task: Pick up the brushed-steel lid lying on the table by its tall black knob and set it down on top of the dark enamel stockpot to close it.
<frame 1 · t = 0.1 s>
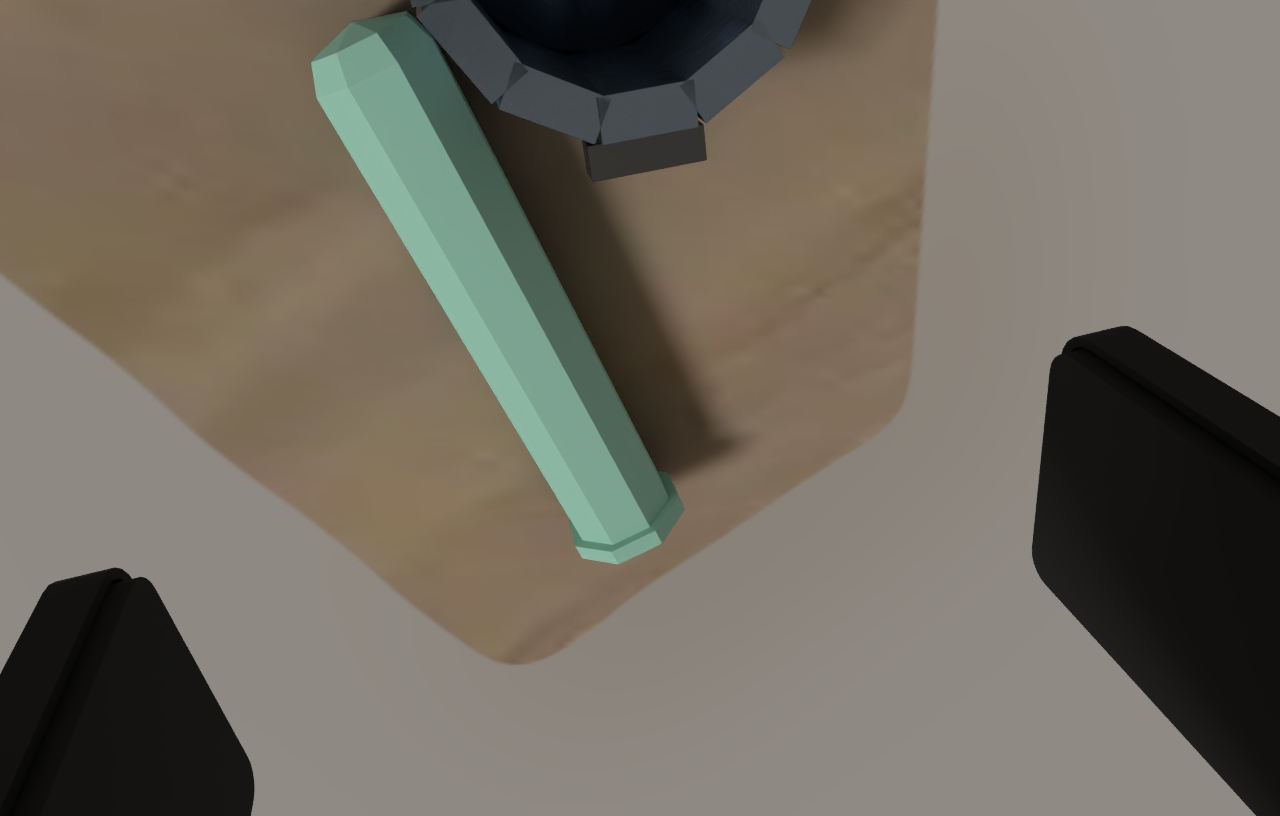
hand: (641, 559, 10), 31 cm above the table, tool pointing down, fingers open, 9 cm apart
mint green octagonal rod: (509, 287, 41), on the table
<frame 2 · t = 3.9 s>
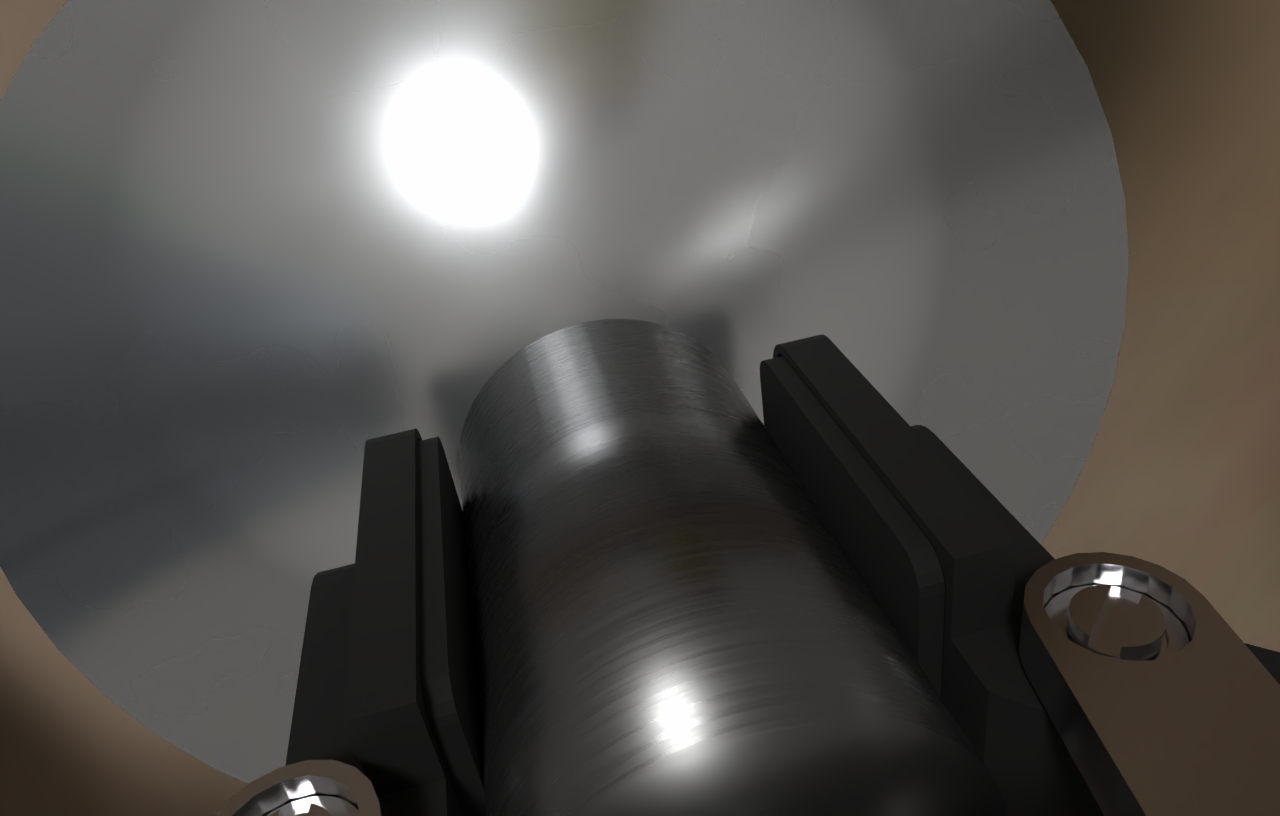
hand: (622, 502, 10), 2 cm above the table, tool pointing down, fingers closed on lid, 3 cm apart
lid: (593, 413, 12), on the table, touching gripper
when the fingers open (12 cm above the table, at t = 8.4 s): lid stays where it is, resting on pot.
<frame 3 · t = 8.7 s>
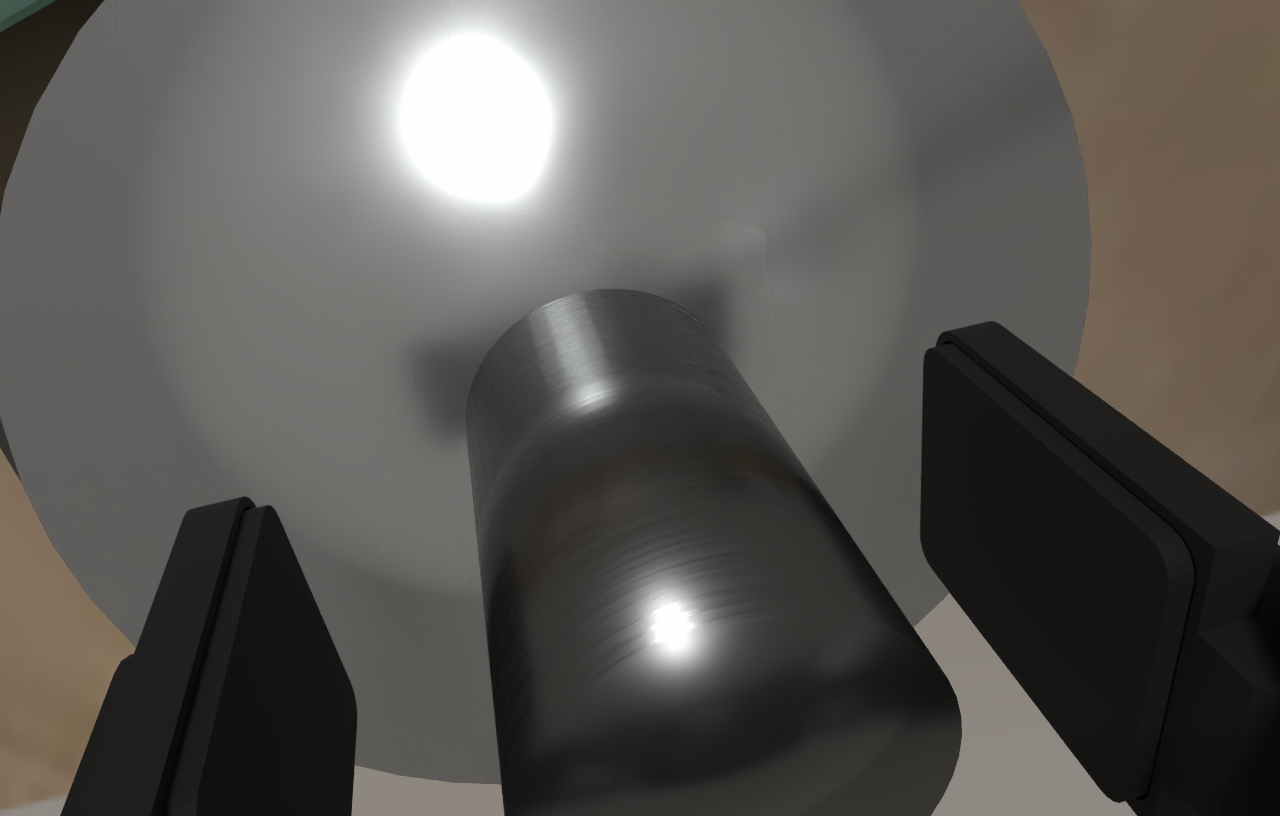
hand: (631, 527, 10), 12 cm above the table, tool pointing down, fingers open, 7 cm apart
lid: (591, 381, 13), point 9 cm above the table, touching pot
pot: (518, 200, 21), on the table
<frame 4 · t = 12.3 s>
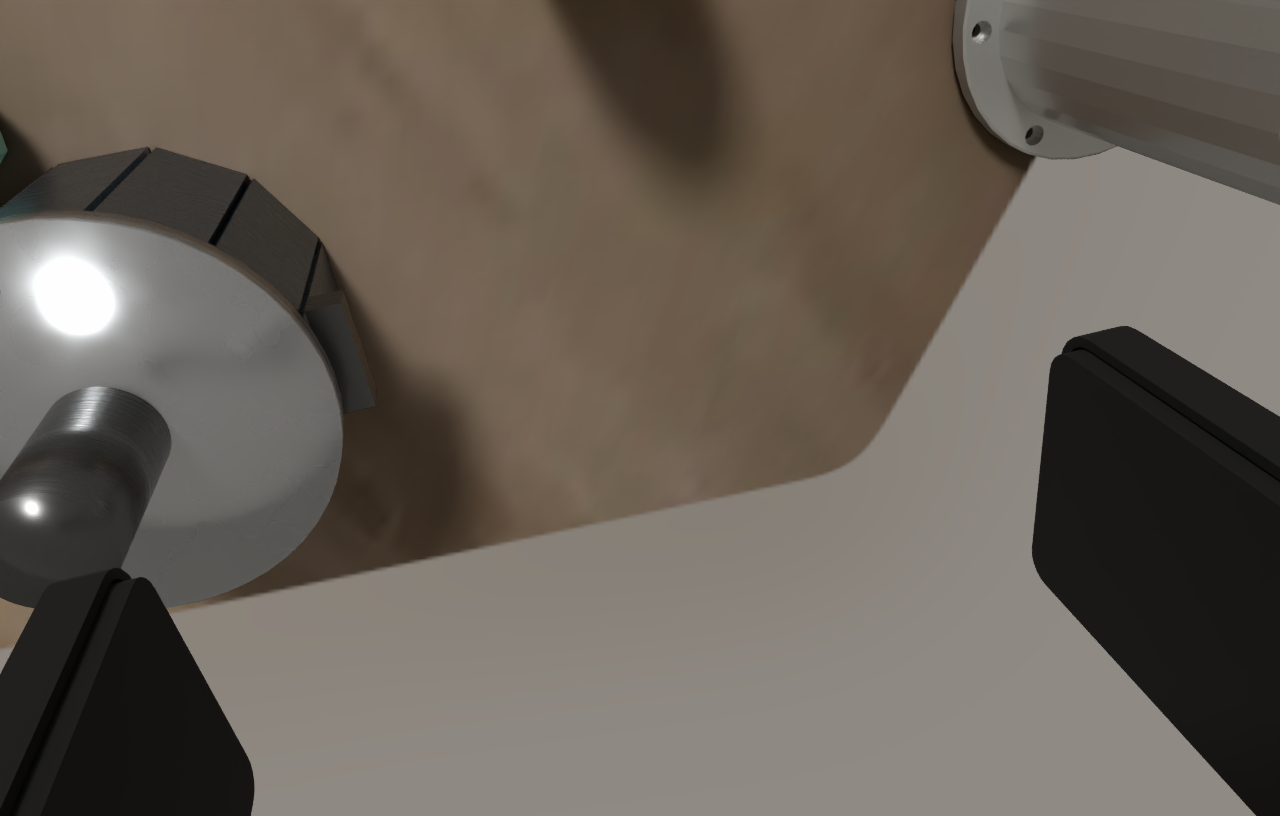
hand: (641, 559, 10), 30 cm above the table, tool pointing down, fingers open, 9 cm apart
lid: (117, 421, 30), point 9 cm above the table, touching pot
pot: (173, 313, 37), on the table
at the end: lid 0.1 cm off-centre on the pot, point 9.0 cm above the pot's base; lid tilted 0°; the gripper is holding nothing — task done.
